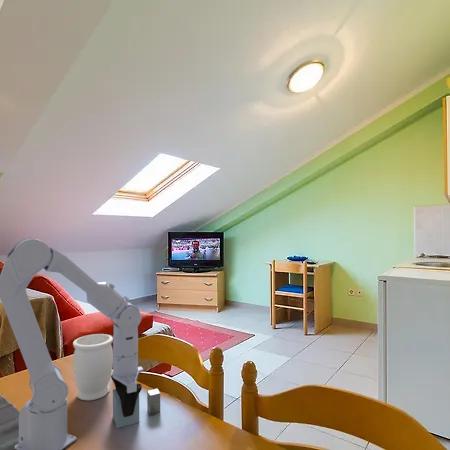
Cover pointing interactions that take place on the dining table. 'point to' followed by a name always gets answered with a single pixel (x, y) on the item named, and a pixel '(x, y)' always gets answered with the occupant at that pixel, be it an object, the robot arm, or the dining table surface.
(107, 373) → the jar
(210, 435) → the dining table surface
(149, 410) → the post
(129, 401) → the robot arm
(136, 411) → the tall grey box
